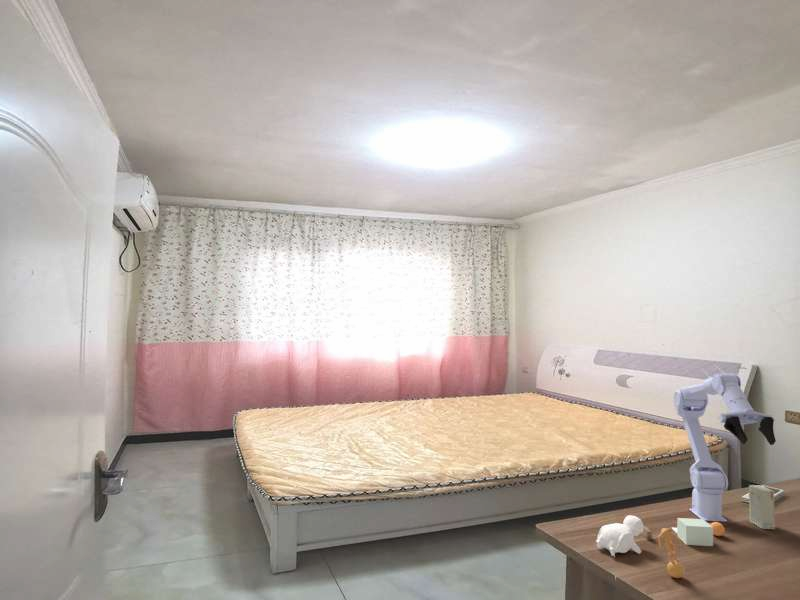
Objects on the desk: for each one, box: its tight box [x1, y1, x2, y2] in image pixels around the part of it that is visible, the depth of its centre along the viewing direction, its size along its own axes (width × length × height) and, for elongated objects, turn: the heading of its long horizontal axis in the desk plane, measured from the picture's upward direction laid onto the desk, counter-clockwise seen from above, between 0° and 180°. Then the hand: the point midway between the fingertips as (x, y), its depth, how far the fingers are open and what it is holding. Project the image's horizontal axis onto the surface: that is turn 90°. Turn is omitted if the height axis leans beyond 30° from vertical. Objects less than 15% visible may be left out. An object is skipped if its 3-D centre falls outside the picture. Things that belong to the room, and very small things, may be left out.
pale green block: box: [676, 517, 714, 547], centre depth 152 cm, size 6×8×6 cm
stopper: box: [636, 516, 653, 541], centre depth 159 cm, size 12×1×2 cm, turn 175°
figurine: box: [657, 527, 685, 579], centre depth 132 cm, size 8×6×12 cm
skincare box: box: [748, 484, 776, 530], centre depth 165 cm, size 6×4×12 cm
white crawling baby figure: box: [595, 514, 644, 558], centre depth 147 cm, size 9×8×15 cm
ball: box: [710, 521, 726, 537], centre depth 157 cm, size 4×4×4 cm
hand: (759, 442), depth 144 cm, fingers open, 7 cm apart
